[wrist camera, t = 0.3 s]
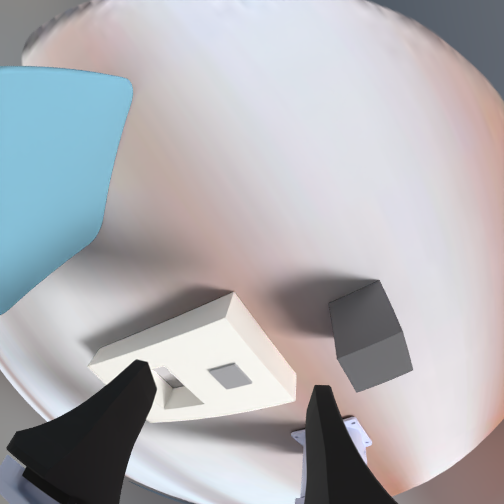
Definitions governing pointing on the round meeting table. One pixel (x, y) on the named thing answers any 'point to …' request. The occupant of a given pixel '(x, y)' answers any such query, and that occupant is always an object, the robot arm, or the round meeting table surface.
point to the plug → (369, 338)
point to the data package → (53, 167)
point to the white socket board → (205, 363)
